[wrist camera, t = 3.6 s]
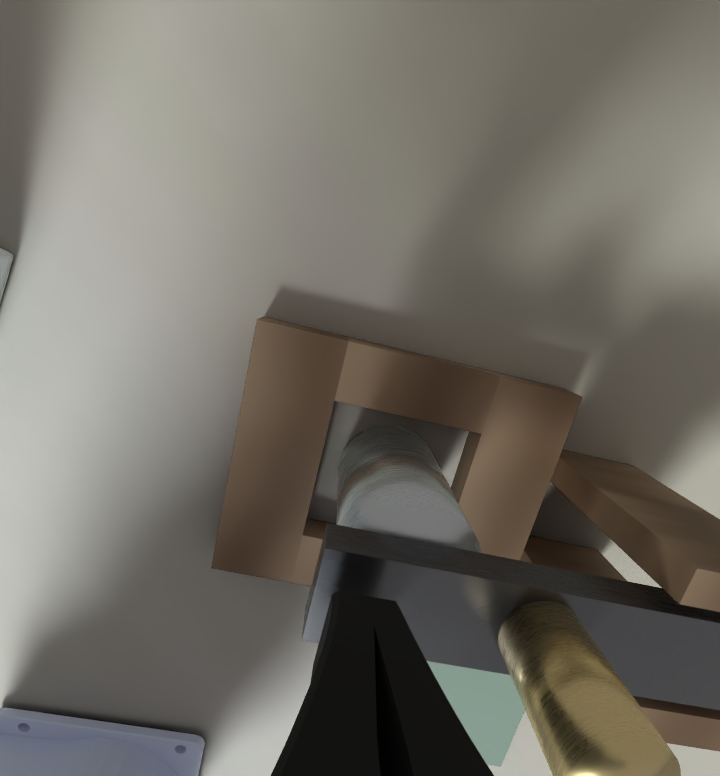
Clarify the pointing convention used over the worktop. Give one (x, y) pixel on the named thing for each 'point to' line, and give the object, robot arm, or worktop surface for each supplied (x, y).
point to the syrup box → (4, 268)
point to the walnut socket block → (471, 482)
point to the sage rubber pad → (482, 707)
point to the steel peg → (399, 490)
